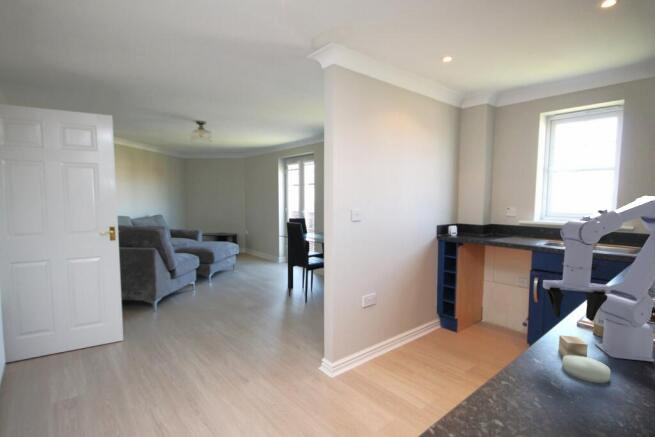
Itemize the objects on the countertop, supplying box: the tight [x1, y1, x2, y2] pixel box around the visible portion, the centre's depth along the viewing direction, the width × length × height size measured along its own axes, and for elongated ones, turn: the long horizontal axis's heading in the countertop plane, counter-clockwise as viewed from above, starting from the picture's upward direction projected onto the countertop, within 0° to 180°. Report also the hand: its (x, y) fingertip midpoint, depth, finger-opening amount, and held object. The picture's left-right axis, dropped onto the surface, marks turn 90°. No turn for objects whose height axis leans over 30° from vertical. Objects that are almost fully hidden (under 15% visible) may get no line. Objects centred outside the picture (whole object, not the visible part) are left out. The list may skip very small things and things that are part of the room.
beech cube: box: [558, 334, 588, 357], centre depth 87 cm, size 4×4×4 cm
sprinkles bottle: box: [592, 310, 605, 338], centre depth 99 cm, size 5×5×14 cm
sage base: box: [561, 355, 611, 384], centre depth 79 cm, size 9×9×2 cm
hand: (572, 317), depth 86 cm, fingers open, 7 cm apart
